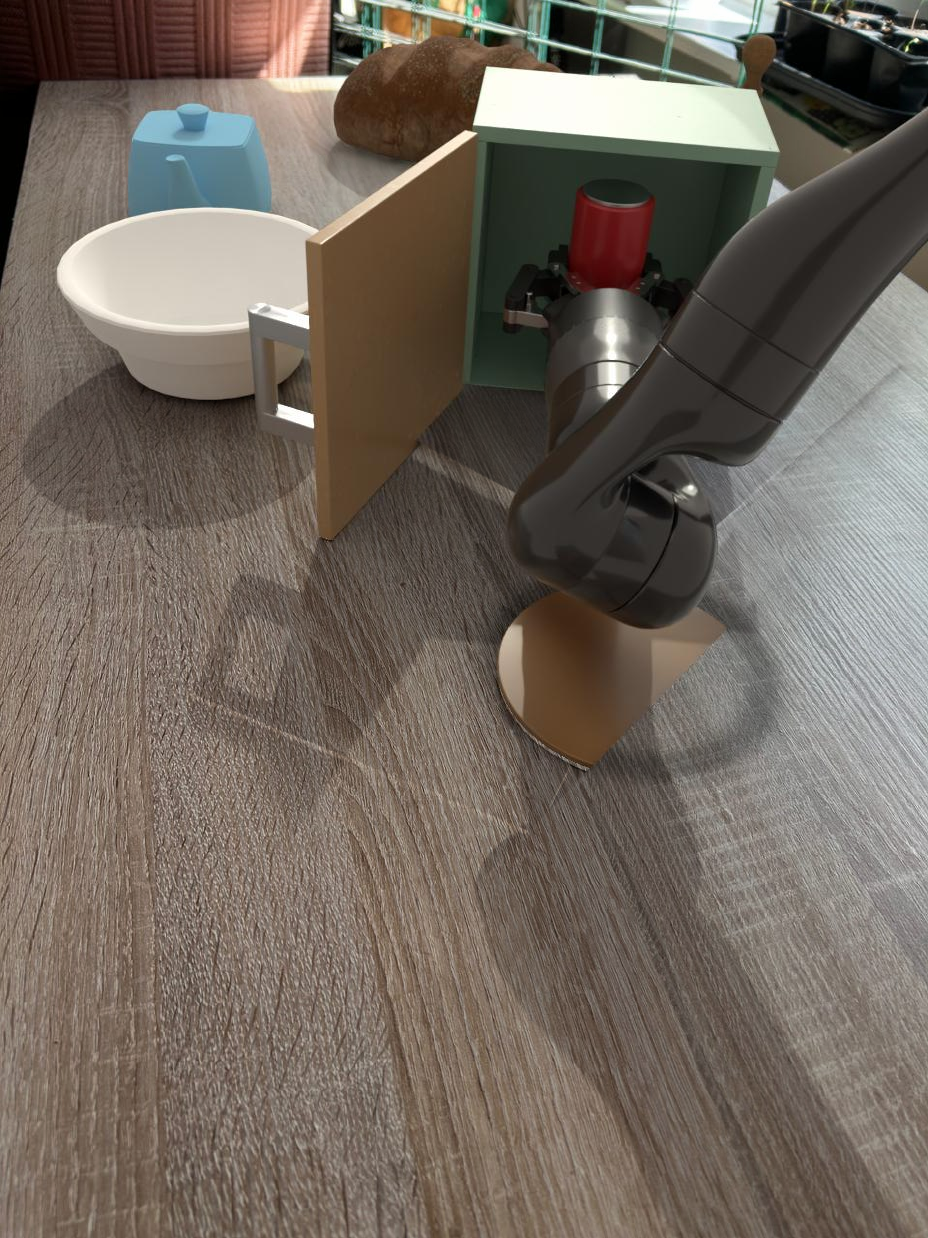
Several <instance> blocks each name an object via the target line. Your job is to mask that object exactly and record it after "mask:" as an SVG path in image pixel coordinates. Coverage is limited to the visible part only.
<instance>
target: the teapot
mask: <svg viewBox="0 0 928 1238" xmlns="http://www.w3.org/2000/svg"><path fill="white" fill-rule="evenodd" d="M266 155H267V154H266V153H265V148H264V144H263V141H262V138H261V135H260V132H259V129H258V126H257V124H256V121H255V119H254V118H253V117H252V116H250V115H246V114H239V113H230V112H219V111H213V110H211V109H210V108H209V107H208V106H207V105H204V104H199V103H185V104H182V105H179V106H178V107H176V109H175V110H174V109H173V110H170V109H167V110H166V109H165V110H164V109H163V110H151V111H148V112H147V113H146V115H145V116H144V117H143V118H142V119H141V121H140V123H139V124H138V125H137V128H136V130H135V131H134V133H133V135H132V138H131V144H130V152H129V160H128V171H127V203H128V213H129V218H130V217H134V216H139V215H143V214H148V213H152V212H159V211H167V210H174V209H186V208H233V209H243V210H253V211H259V212H264V213H269V214H271V213H270V212H271V207H272V196H273V195H272V193H273V192H272V182H271V174H270V170H269V164H268V159H267V156H266Z"/></svg>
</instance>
